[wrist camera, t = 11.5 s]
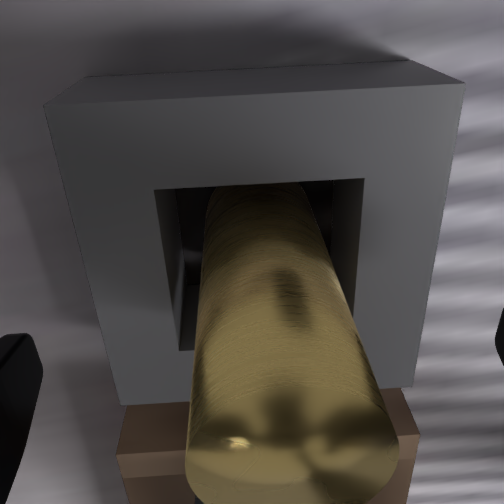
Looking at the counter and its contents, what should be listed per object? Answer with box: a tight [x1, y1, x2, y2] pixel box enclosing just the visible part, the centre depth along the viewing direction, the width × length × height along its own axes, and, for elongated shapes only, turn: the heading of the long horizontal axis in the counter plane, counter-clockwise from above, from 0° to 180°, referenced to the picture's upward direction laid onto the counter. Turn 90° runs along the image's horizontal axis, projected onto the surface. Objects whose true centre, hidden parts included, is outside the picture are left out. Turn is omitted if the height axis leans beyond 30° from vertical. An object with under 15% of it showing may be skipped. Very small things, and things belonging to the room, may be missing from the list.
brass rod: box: [185, 182, 400, 504], centre depth 10 cm, size 3×3×8 cm
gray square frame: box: [43, 60, 466, 406], centre depth 12 cm, size 8×8×3 cm
